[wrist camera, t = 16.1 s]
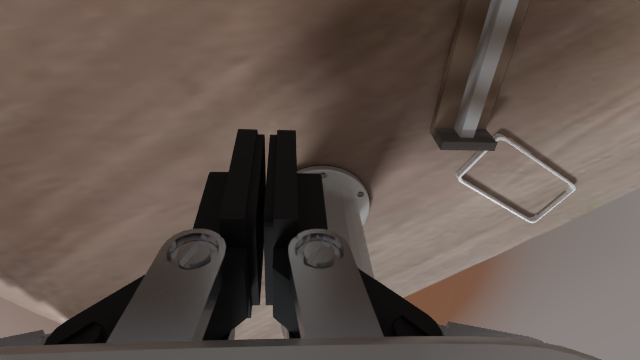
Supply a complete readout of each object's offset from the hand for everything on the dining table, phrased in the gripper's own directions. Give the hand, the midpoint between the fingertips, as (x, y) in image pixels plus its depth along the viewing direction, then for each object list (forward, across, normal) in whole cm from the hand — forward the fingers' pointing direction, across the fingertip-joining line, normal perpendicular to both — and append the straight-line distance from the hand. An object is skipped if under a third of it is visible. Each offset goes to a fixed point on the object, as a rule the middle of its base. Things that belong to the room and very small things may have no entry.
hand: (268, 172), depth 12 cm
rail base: (+29, -20, +2) cm, 35 cm away
